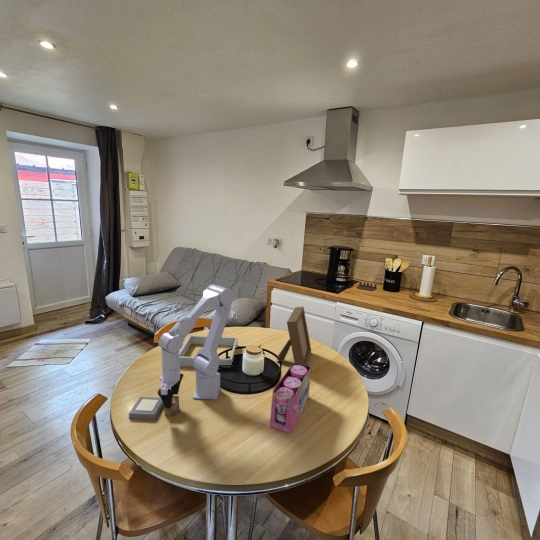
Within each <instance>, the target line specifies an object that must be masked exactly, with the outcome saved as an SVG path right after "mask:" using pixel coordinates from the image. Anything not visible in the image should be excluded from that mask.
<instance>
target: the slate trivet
mask: <svg viewBox="0 0 540 540" xmlns="http://www.w3.org/2000/svg"><path fill="white" fill-rule="evenodd" d="M163 406H164V404H163V402H162V399H161V398H160V397H153V396H152V397H149V396H148V397H147V396H146V397H145V396H140V397H139V398H138V399H137V400H136V402H135V404H134V405H133V407H132V408H131V410H130V411H129V413H128V419H135V420H136V419H139V420H156V418H157V416H158V415H159V414H160V411H161V410H162V408H163Z"/></svg>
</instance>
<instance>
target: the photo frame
mask: <svg viewBox="0 0 540 540" xmlns="http://www.w3.org/2000/svg"><path fill="white" fill-rule="evenodd" d="M305 313H306V311H305V307H304V306H297V307H294V309H293V311H292V312H291V314H290V316H289V318H288V319H287V321H286V325H287V330H288V336H289V339H288V340H287V342H286V343H285V345H284V346H283V347H282V349H281V350H280V352H279V353H278V354H277V360H276V363H277V364H279V363H280V362H279V361H278V358H279V359H280V360H281V362H284V361H285V359H286V357H287V354H288V352H289V350H290V349H291V351H292V356H293V357H292V358H293V362H295V363H299V364H303V365H306V366H309V365H308V364H309V361H310V358H311V354H312V346H311V341H310V335H309V330H308V325H307V319H306V314H305Z"/></svg>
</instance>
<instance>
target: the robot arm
mask: <svg viewBox="0 0 540 540" xmlns="http://www.w3.org/2000/svg"><path fill="white" fill-rule="evenodd" d="M234 298H235V296H234V293H233V290H232V289H230V288H227V287H224V286H220V285H218V284H217V285H216V284H215V283H212V284H210V285H208V286H207V288H206V289H205V290H203V295H202V297H201V299H200V300H199V301H198V302H197V303H196V305H195V306H194V307H193V308H192V310H191V311H190V313H188V315H183V316H182V317H180V318H179V319H178V320H177V322H176V323H175V324H174V325H173V326H172V328H170V330H169V331H167V332H164V333H163V334H161V335H160V338H159V340H158V342H157V345H158V346H159V347H160V349H161V369H162V370H161V371H162V374H161V375H160V376H159V378H158V380H159V381H161V388H159V389H158V390H157V395H158V397H159V398H161V399H162V402H163V406H164V407H165V408H171V406H172V399H173V396H178V395H179V390H180V386H181V382H182V380H183V378H184V374H183V373H180V372H181V366H179V351H180V350H181V348H182V347H183V345H184V343H185V339H186V338H187V336H189V334H190V333H191V332H192V331H193V330H194V328H195V327H196V321H197V320H198V319H199V318H200V317H202V316H203V315H204V313H206V311H208V310H209V309H210V308H212V307H214V308H215V311H214V316H213V318H212V322H211V324H210V327H209V329H208V332H207V335H206V336H207V338H206V341H205V344H203V347H202V348H199V349H198V350H197V352H196V354H195V355H194V356H193V357H194V358H193V361H192V366H193V367H192V368H193V369H194V372H195V391H194V394H193V396H192V399H197V400H217V399H218V397H219V394H220V392H221V391H220V390H221V373H220V372H218V370H219V368H218V367H219V360H220V358H221V357H220V356H219V353H218V348H219V346H220V345H219V343H220V340H221V337H223V333H224V332H225V328H226V326H227V322H228V319H229V315H230V313H231V309H232V304H233V302H234Z"/></svg>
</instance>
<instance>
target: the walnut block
mask: <svg viewBox="0 0 540 540" xmlns="http://www.w3.org/2000/svg"><path fill="white" fill-rule="evenodd" d="M179 410H180V395H173V399H172V406H171V408H165V407H164V416H177V413H178V411H179Z"/></svg>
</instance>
